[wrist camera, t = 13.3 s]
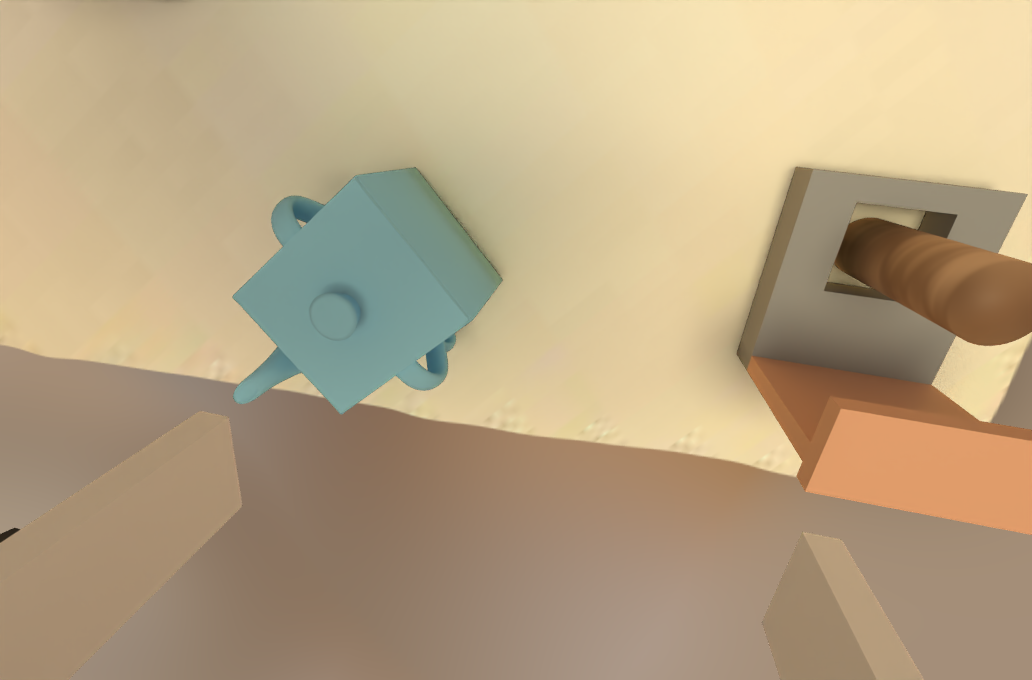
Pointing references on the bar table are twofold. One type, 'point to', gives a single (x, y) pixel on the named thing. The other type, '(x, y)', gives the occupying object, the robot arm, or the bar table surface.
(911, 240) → the walnut peg
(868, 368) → the socket stand
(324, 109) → the bar table surface
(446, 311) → the teal cube teapot
